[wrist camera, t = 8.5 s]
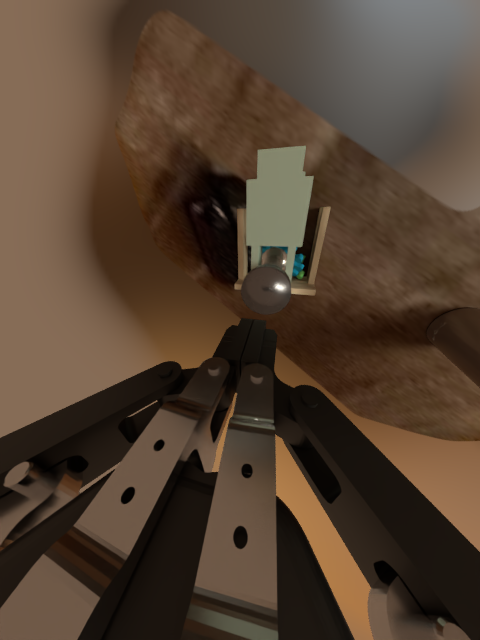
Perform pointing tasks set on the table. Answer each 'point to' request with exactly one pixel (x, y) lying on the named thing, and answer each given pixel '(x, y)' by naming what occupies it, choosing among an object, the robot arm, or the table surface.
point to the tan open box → (297, 285)
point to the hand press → (278, 203)
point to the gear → (297, 261)
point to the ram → (268, 284)
